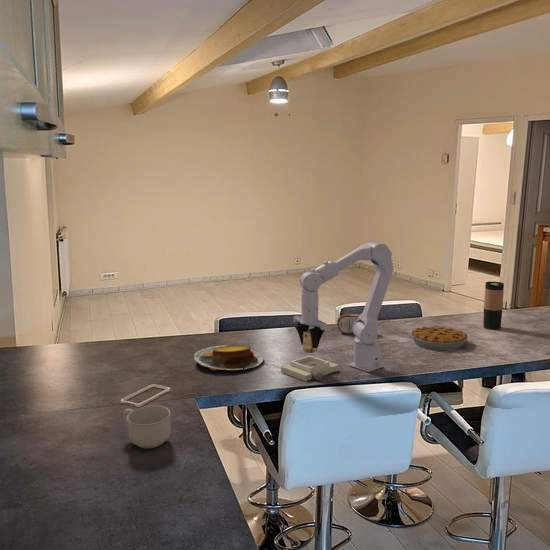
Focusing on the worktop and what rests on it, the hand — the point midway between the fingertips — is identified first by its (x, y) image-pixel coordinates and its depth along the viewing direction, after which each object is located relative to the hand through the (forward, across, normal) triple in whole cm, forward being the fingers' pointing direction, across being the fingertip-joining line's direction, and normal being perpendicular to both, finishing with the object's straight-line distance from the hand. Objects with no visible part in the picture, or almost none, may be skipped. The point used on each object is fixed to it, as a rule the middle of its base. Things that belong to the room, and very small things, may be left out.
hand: (309, 345), depth 197 cm
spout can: (+2, 0, 0) cm, 2 cm away
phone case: (+9, -16, -54) cm, 57 cm away
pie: (+9, +12, +61) cm, 63 cm away
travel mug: (+9, +14, +98) cm, 100 cm away
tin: (+9, -20, +47) cm, 52 cm away
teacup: (+9, +11, -69) cm, 70 cm away
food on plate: (+9, -26, -16) cm, 32 cm away
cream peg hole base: (+9, +3, -1) cm, 9 cm away
